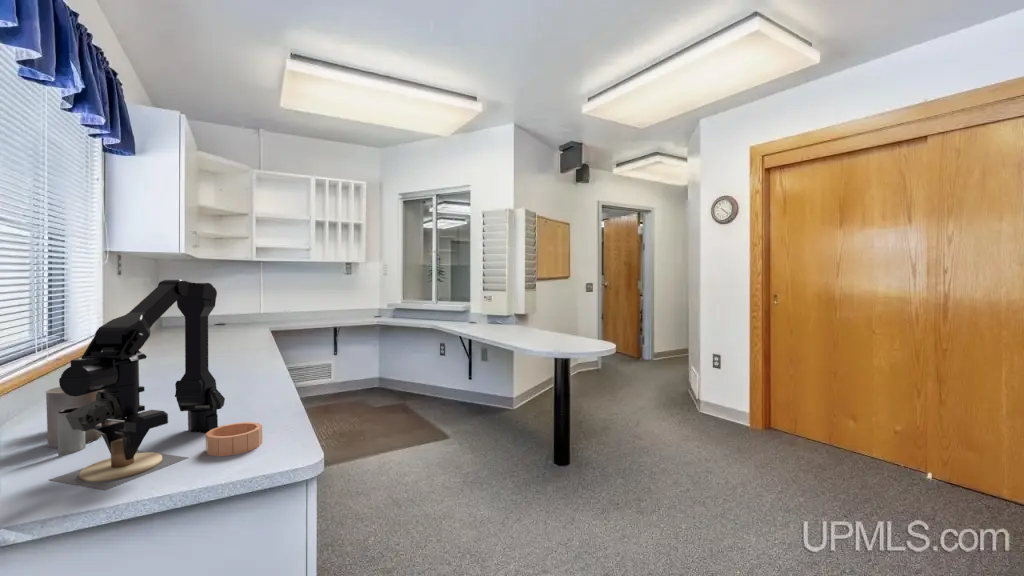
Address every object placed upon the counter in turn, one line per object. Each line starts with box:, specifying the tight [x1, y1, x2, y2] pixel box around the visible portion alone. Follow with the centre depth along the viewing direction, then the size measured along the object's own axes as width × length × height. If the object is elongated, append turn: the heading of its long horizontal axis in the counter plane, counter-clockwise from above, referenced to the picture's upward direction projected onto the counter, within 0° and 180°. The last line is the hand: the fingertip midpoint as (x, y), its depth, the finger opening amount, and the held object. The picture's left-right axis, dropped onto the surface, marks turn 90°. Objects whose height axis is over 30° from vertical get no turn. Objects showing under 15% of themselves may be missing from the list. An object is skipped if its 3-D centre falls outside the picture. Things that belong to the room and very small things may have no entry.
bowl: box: [205, 421, 263, 457], centre depth 105 cm, size 11×11×5 cm
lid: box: [79, 439, 162, 482], centre depth 93 cm, size 13×13×6 cm
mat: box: [48, 449, 190, 491], centre depth 93 cm, size 16×16×1 cm
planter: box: [57, 408, 87, 457], centre depth 103 cm, size 4×4×10 cm
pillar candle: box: [44, 386, 102, 449], centre depth 112 cm, size 10×10×15 cm
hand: (122, 458), depth 93 cm, fingers closed on lid, 4 cm apart
